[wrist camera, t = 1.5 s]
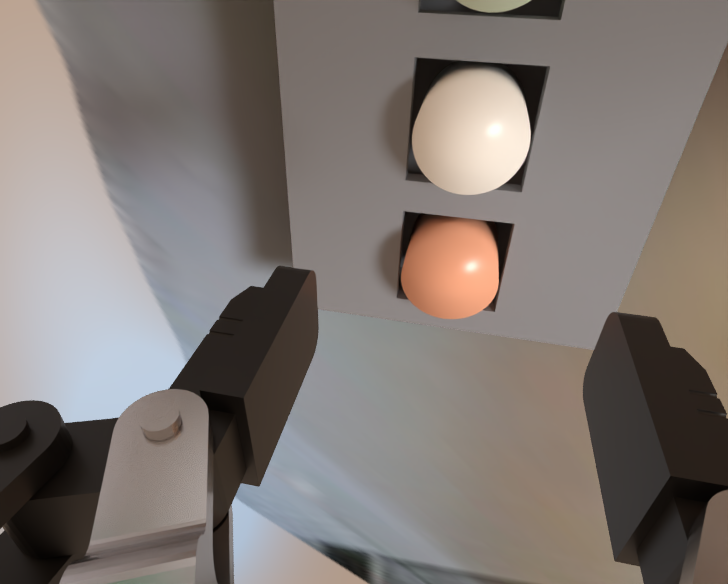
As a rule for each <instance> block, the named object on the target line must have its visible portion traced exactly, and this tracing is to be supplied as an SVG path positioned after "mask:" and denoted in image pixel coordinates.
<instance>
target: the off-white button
mask: <svg viewBox="0 0 728 584" xmlns="http://www.w3.org/2000/svg"><path fill="white" fill-rule="evenodd" d="M530 140H531V130H530V122H529V117H528V112H527V106H526V101H525V96H524V92H523V88H522V86H521V83H520V81H519V80H518V78H517V76H516V75H515V74H514V73H513V71H512V70H510V69H509V68H508V67H507V66H506V65H504V64H503V63H491V62H476V61H461V60H458V61H456V62H454V63H452V64H450V65H449V66H447V67H446V68H444V69H443V70H442V71H441V72H440V73H439V74H438V75H437V76H436V77H435V79H434V80H433V81H432V83H431V85H430V86H429V88H428V91H427V93H426V96H425V98H424V101H423V103H422V106H421V108H420V111H419V113H418V116H417V118H416V121H415V124H414V128H413V134H412V147H413V153H414V157H415V160H416V162H417V164H418V166H419V168H420V170H421V171H422V172H423V174H424V175H425V176H426V177H427V178H428V179H429V180H430V181H431V182H432V183H433V184H435V185H436V186H438V187H440V188H441V189H443V190H446V191H448V192H452V193H455V194H461V195H476V194H481V193H485V192H489V191H491V190H494V189H496V188H498V187H500V186H501V185H503V184H504V183H506V182H507V181H508V180H510V179H511V178H512V177H513V176H514V175H515V174H516V172H517V171H518V170H519V169H520V167H521V166H522V164H523V162H524V160H525V158H526V156H527V153H528V150H529V146H530Z"/></svg>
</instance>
